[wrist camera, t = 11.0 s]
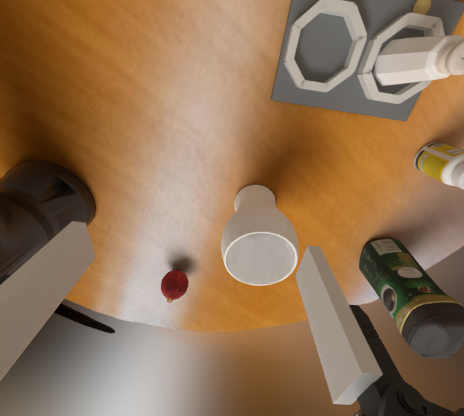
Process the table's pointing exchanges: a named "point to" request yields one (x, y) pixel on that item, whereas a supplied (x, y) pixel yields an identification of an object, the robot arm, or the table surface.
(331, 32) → the collar board
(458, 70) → the pepper shaker
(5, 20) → the table surface
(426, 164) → the supplement bottle
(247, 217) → the cup
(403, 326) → the coffee jar
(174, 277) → the onion
